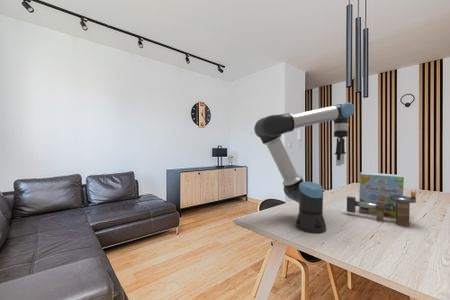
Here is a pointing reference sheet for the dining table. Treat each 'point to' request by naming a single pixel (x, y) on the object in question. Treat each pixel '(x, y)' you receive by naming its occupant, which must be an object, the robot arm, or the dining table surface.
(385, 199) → the snack box
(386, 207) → the cube-head mallet
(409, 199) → the lock wheel
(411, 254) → the dining table surface
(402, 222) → the notched wooden block
